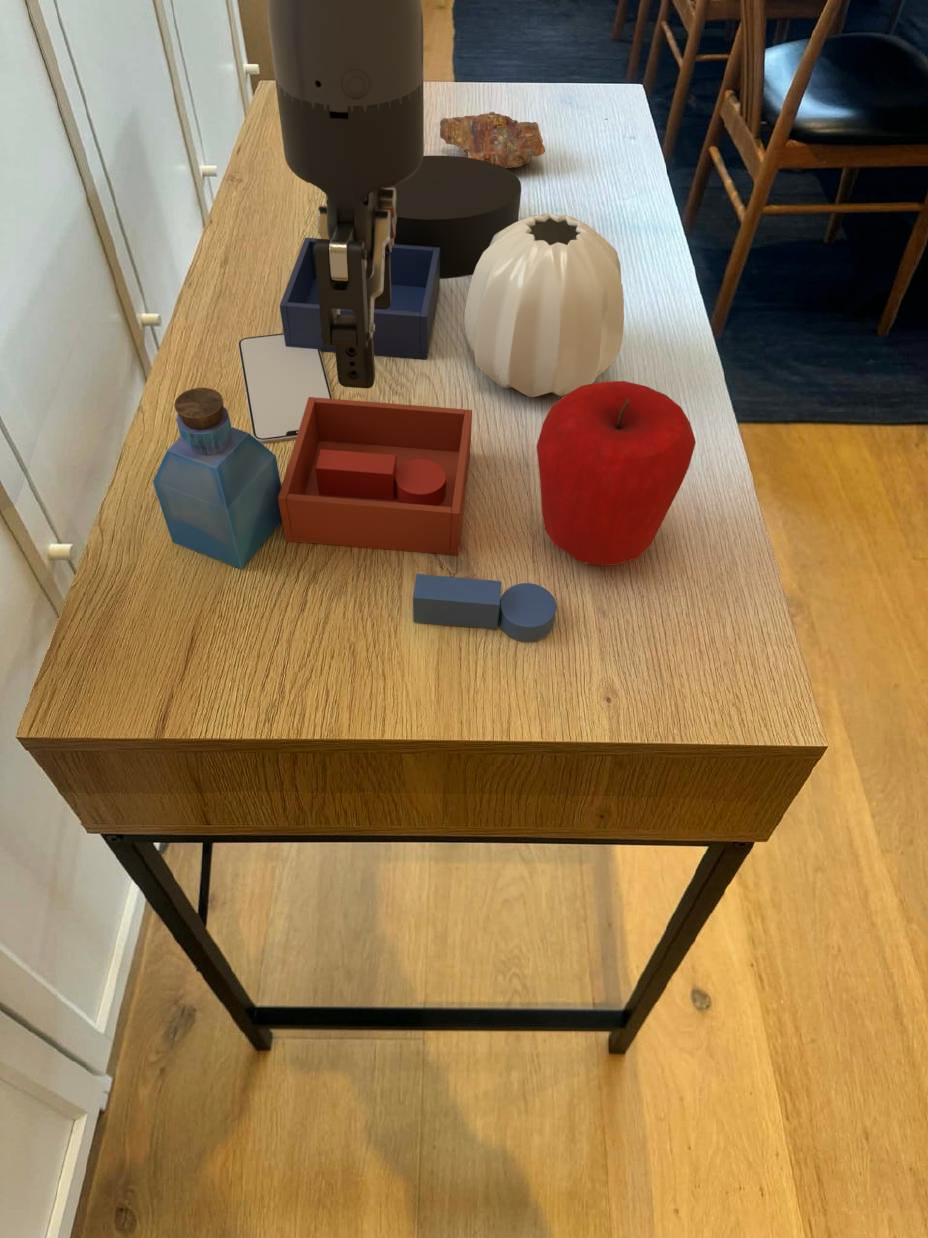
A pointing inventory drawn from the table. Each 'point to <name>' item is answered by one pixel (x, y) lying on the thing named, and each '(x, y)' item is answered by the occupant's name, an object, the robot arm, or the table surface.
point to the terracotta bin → (408, 438)
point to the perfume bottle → (217, 483)
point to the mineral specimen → (494, 138)
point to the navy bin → (395, 327)
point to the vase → (546, 306)
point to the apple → (611, 469)
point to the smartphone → (280, 385)
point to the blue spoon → (484, 605)
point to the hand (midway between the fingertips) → (366, 343)
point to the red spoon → (380, 477)
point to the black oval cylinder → (456, 209)
